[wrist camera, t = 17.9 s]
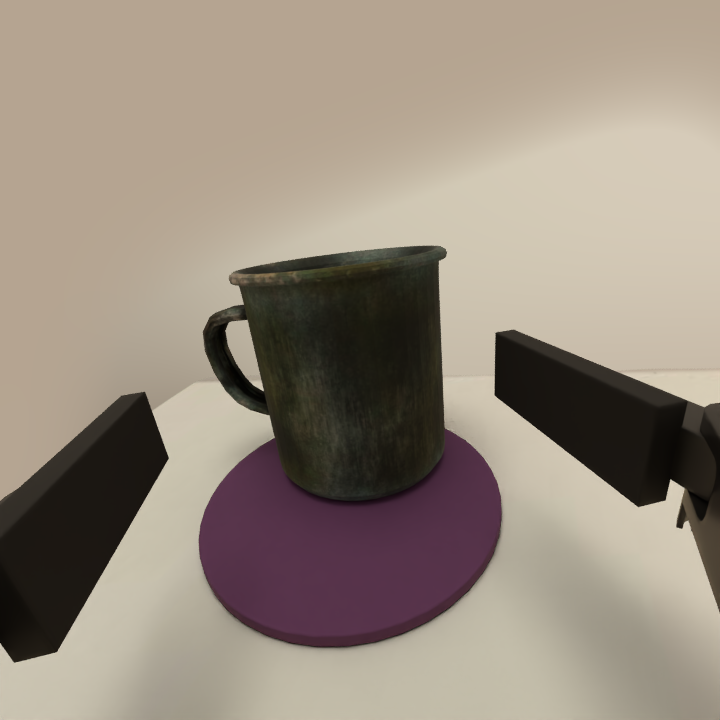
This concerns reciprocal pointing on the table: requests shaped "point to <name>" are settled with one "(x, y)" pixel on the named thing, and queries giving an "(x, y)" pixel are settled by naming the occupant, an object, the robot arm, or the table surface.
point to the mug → (343, 366)
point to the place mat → (347, 549)
